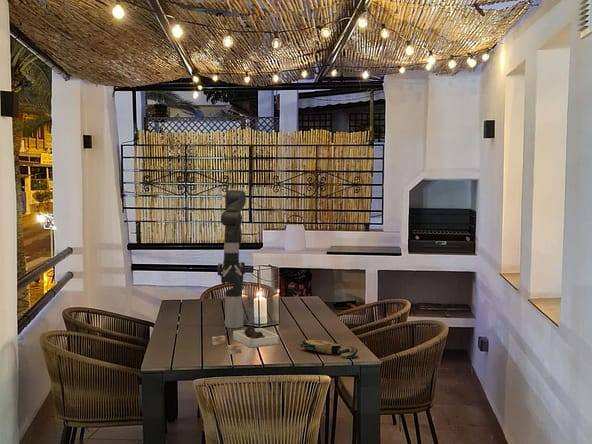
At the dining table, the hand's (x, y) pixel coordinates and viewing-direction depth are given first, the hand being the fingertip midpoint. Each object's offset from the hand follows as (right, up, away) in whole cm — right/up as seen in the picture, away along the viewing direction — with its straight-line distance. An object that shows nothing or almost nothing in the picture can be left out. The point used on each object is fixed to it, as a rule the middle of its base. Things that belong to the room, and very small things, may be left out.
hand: (231, 283), depth 307 cm
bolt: (+13, -28, -4) cm, 31 cm away
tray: (+13, -28, -5) cm, 32 cm away
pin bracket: (0, -29, -18) cm, 34 cm away
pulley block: (+48, -30, -25) cm, 62 cm away
